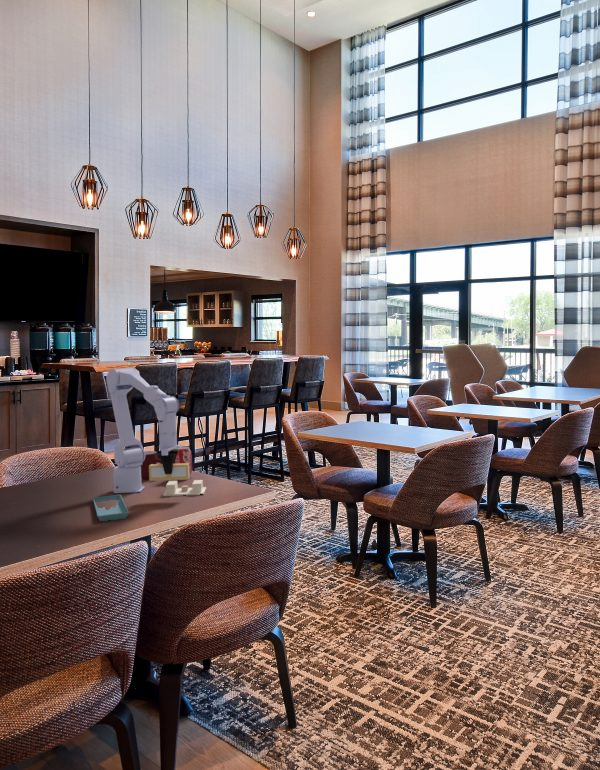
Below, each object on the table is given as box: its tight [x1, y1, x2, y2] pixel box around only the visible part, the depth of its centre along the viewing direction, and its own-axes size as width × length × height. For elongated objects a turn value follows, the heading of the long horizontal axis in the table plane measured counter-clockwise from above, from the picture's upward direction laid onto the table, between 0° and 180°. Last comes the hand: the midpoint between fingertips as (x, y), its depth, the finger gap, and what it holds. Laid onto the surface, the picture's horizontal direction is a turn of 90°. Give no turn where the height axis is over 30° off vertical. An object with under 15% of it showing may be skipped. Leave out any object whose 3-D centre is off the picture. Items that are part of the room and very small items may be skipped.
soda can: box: [174, 445, 193, 478], centre depth 244 cm, size 7×7×12 cm
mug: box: [141, 450, 162, 480], centre depth 245 cm, size 11×8×10 cm
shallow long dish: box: [92, 494, 130, 522], centre depth 200 cm, size 26×9×2 cm, turn 21°
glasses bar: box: [148, 463, 191, 482], centre depth 212 cm, size 13×3×5 cm, turn 92°
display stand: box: [162, 479, 207, 497], centre depth 220 cm, size 14×9×4 cm, turn 92°
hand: (169, 472), depth 212 cm, fingers closed on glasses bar, 3 cm apart
